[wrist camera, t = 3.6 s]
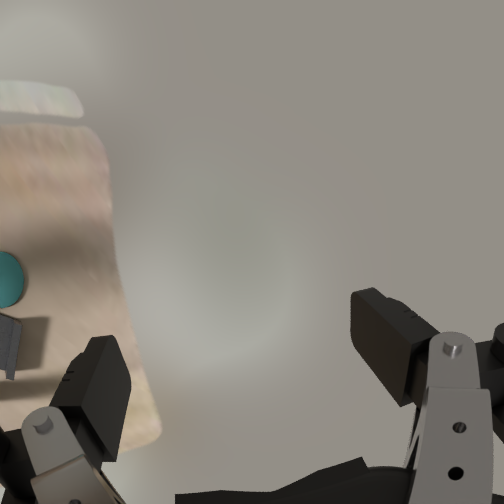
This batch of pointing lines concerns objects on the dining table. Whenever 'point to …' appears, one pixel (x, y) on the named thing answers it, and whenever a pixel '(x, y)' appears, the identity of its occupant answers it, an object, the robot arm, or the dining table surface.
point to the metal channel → (9, 344)
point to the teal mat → (10, 280)
